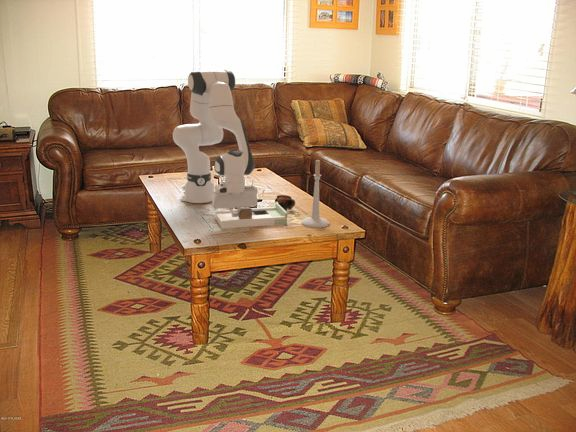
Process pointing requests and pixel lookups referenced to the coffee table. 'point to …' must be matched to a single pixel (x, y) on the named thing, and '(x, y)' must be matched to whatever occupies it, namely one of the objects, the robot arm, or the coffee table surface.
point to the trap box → (253, 217)
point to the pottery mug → (285, 202)
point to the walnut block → (245, 213)
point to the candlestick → (315, 204)
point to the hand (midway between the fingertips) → (234, 216)
